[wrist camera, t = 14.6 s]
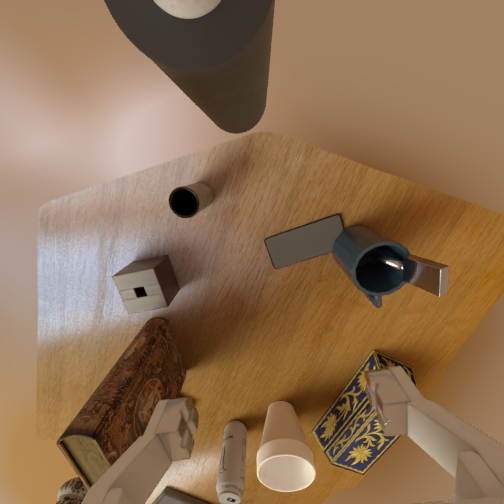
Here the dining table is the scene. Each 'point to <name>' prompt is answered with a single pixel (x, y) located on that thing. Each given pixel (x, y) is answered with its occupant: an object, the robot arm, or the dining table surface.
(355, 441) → the decorative box
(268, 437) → the cup
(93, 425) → the book
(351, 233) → the grey coffee mug
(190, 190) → the grey hollow cylinder
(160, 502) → the laptop
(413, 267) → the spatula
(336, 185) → the dining table surface
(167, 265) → the utensil block
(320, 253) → the smartphone
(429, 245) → the dining table surface
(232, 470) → the energy drink can
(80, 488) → the apothecary jar
